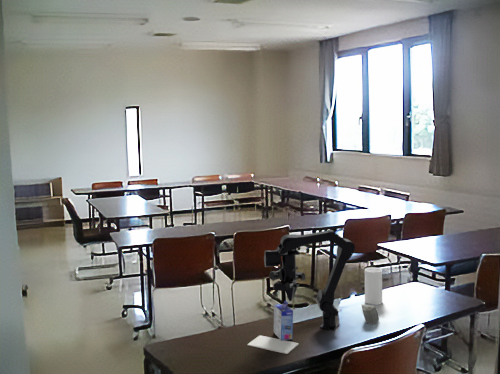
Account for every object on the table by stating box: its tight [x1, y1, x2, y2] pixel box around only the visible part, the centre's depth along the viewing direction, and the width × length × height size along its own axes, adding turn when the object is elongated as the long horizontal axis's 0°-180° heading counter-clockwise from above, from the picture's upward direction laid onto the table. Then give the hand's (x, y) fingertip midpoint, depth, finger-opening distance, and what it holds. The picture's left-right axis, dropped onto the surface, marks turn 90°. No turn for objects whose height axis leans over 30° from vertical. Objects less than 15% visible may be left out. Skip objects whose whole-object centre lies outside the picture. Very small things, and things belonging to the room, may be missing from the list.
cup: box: [364, 266, 383, 306], centre depth 257 cm, size 8×8×16 cm
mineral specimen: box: [361, 304, 380, 325], centre depth 232 cm, size 7×9×8 cm
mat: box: [246, 334, 299, 355], centre depth 213 cm, size 10×18×1 cm, turn 59°
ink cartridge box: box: [273, 300, 294, 341], centre depth 220 cm, size 10×6×14 cm, turn 15°
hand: (290, 300), depth 227 cm, fingers closed
